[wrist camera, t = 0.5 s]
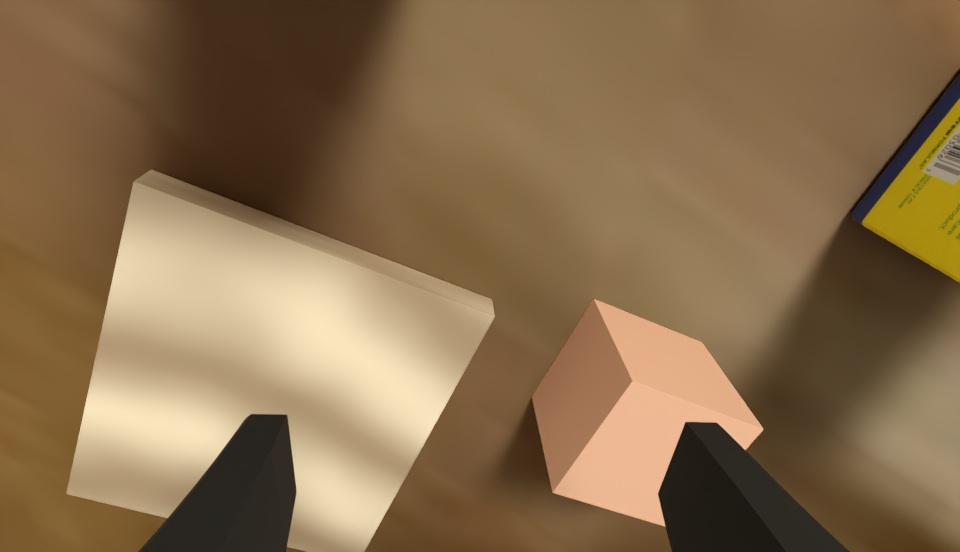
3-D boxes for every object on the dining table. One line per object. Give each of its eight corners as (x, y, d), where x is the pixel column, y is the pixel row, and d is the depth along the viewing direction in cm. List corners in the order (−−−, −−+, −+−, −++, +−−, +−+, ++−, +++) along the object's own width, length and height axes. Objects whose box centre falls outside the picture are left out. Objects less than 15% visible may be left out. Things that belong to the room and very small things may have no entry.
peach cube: (633, 430, 25) (675, 529, 20) (531, 395, 24) (552, 492, 19) (701, 341, 23) (763, 428, 18) (593, 297, 22) (632, 380, 17)
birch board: (360, 540, 27) (357, 563, 26) (82, 470, 24) (66, 493, 23) (491, 299, 21) (494, 316, 20) (151, 169, 18) (133, 181, 17)
